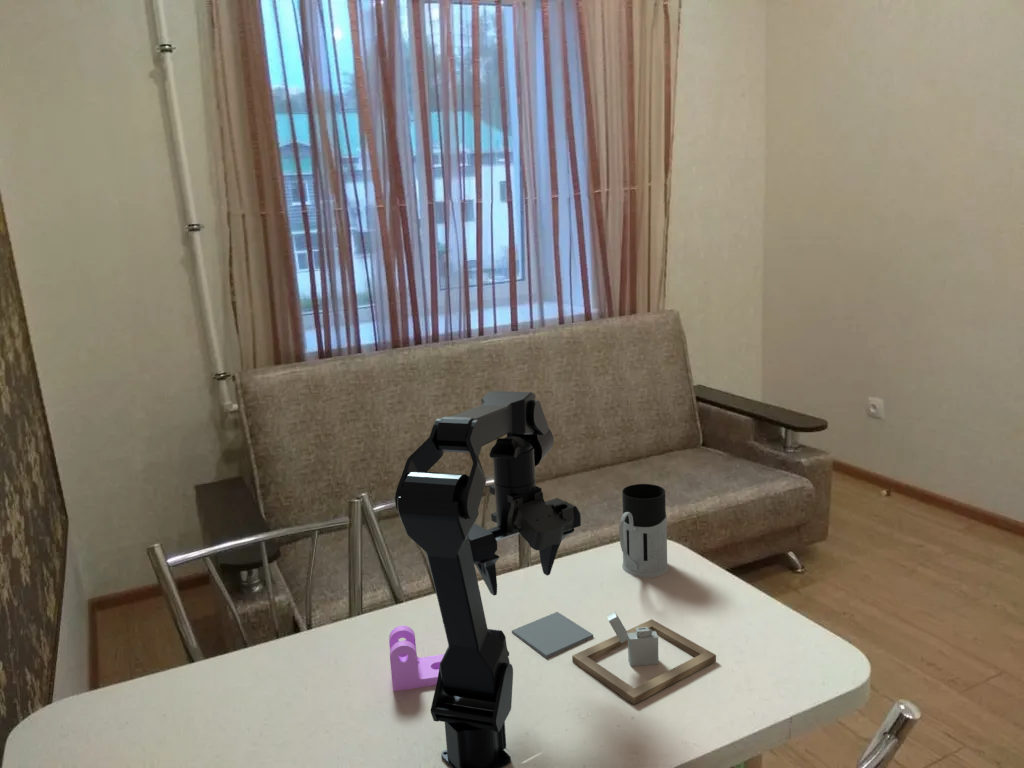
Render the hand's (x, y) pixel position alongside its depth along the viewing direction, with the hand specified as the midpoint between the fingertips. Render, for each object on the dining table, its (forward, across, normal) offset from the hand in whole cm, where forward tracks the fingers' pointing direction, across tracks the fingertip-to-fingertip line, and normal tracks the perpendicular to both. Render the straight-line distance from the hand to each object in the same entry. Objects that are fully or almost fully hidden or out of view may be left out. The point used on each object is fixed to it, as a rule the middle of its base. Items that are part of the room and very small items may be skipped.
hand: (520, 584), depth 113 cm
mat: (+13, +8, +4) cm, 16 cm away
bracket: (+13, -11, +7) cm, 18 cm away
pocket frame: (+13, +14, -10) cm, 22 cm away
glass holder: (+13, +32, +10) cm, 36 cm away
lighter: (+13, +13, -9) cm, 20 cm away
